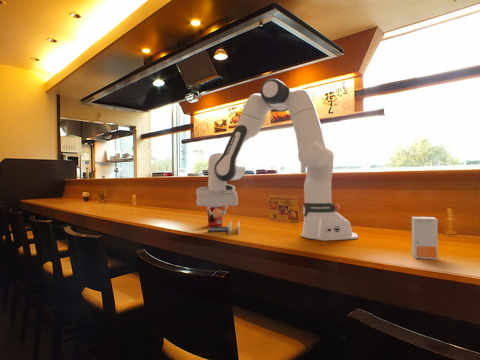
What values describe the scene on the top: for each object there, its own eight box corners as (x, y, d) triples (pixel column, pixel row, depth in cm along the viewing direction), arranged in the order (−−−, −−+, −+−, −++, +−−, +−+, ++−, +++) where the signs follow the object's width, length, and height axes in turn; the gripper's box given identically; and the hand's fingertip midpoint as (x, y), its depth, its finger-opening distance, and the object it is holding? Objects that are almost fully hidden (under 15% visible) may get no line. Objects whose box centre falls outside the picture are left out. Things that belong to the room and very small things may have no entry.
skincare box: (414, 258, 86) (413, 218, 86) (411, 255, 90) (411, 216, 90) (438, 260, 84) (437, 218, 84) (434, 256, 88) (434, 216, 88)
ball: (222, 219, 140) (222, 208, 140) (211, 219, 141) (211, 208, 140) (223, 217, 145) (222, 207, 145) (213, 217, 146) (212, 207, 146)
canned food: (223, 224, 161) (223, 204, 161) (221, 227, 153) (220, 206, 153) (209, 224, 162) (209, 204, 162) (206, 227, 154) (206, 206, 154)
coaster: (228, 228, 147) (228, 226, 147) (226, 231, 138) (226, 229, 138) (210, 229, 147) (210, 227, 147) (207, 232, 138) (207, 230, 138)
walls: (239, 228, 147) (239, 221, 147) (238, 234, 131) (238, 226, 131) (230, 228, 148) (230, 221, 148) (228, 234, 132) (228, 226, 132)
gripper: (194, 187, 140) (195, 216, 140) (237, 186, 139) (237, 215, 139) (197, 186, 146) (197, 214, 146) (238, 186, 146) (238, 214, 146)
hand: (217, 215), depth 143 cm, fingers closed on ball, 5 cm apart
